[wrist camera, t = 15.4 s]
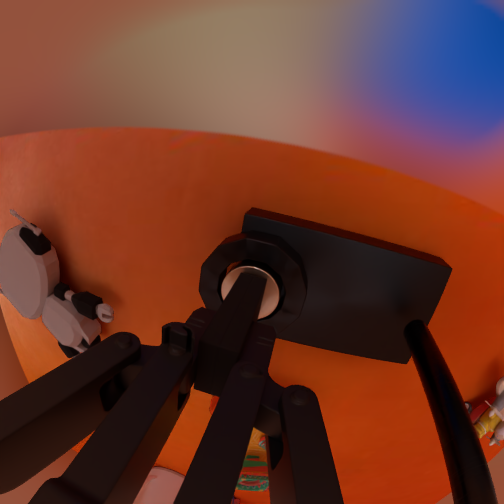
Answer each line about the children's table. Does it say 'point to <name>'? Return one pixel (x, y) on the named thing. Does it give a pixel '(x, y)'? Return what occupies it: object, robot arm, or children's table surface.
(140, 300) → the children's table surface
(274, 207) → the children's table surface
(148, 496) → the mug
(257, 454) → the building blocks
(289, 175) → the children's table surface
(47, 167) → the children's table surface
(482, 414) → the toy airplane
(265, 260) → the lamp base
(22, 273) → the robot toy
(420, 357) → the lamp
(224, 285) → the lamp switch
